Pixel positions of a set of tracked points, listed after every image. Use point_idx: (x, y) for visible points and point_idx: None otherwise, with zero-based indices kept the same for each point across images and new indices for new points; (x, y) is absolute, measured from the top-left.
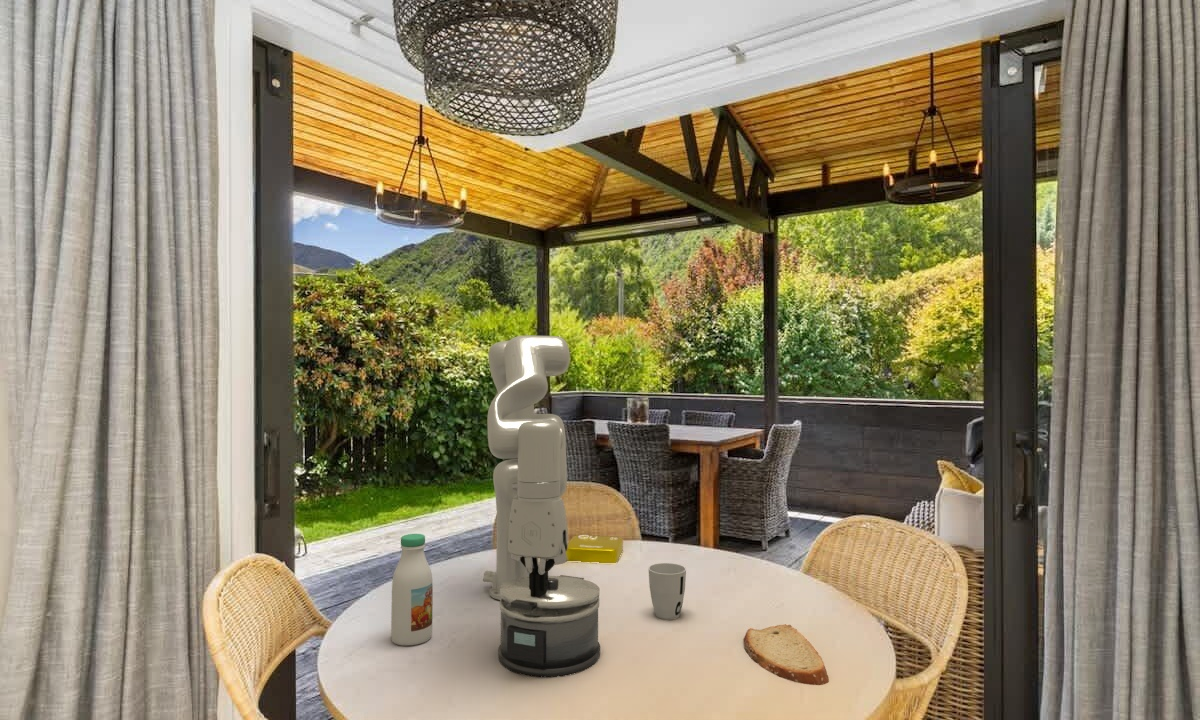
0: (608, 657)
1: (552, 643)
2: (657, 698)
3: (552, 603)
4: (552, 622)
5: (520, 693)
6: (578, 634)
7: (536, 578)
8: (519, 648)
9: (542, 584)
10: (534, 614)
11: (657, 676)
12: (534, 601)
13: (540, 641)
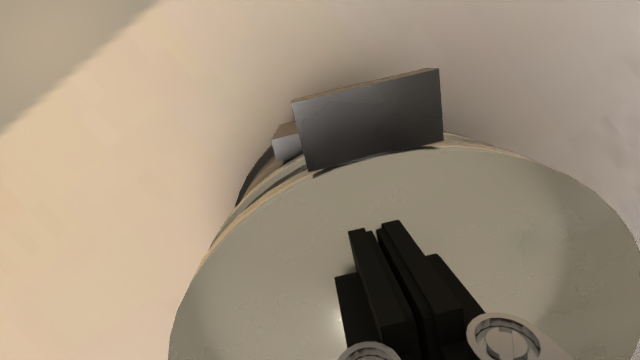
0: None
1: (268, 168)
2: (16, 201)
3: (240, 221)
4: (255, 187)
5: (280, 28)
6: None
7: (389, 297)
8: None
9: (350, 298)
10: None
11: (90, 279)
12: (328, 172)
13: (285, 132)
